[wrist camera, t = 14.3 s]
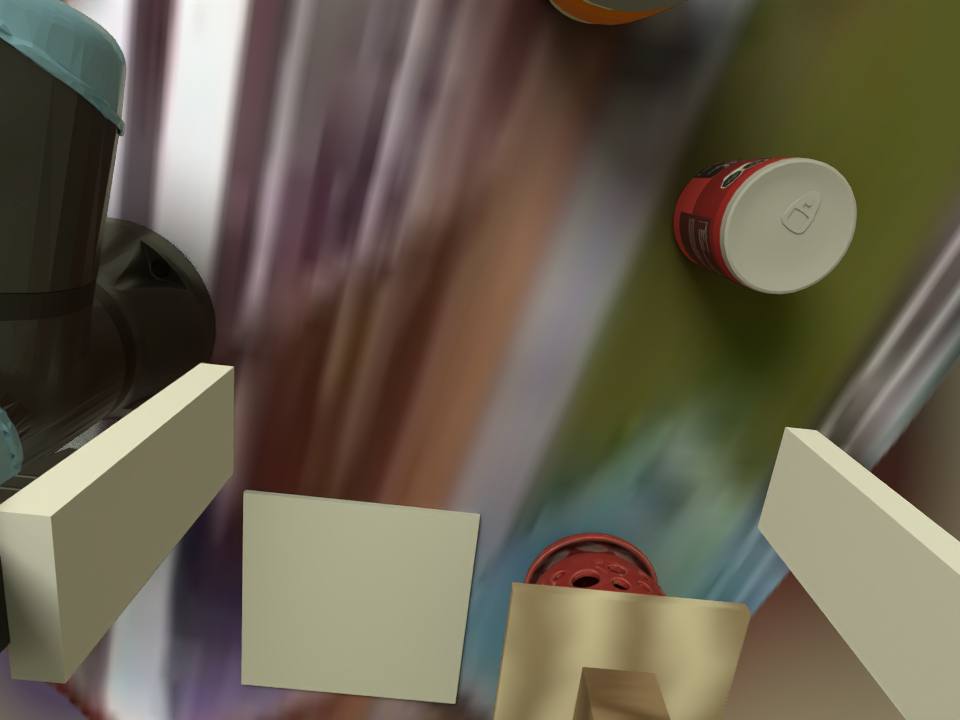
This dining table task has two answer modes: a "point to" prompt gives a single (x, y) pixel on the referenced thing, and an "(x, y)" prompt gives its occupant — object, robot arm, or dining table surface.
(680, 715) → the lid
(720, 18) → the dining table surface
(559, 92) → the dining table surface
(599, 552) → the plant pot
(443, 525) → the mat
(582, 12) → the reusable coffee cup
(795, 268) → the canned food
